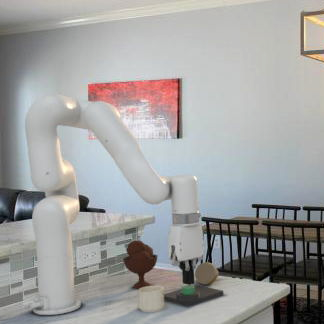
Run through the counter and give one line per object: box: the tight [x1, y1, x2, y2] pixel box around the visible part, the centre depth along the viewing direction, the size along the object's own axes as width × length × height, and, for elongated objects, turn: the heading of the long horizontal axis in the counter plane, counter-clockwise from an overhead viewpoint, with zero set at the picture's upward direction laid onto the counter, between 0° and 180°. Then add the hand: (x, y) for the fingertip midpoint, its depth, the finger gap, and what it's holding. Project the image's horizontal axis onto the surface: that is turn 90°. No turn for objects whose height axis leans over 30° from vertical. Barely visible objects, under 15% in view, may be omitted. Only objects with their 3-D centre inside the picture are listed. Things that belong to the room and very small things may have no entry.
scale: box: [164, 284, 224, 307], centre depth 159 cm, size 15×13×3 cm
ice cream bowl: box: [122, 240, 159, 290], centre depth 174 cm, size 11×11×15 cm
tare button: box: [181, 284, 195, 295], centre depth 153 cm, size 4×4×2 cm
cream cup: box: [137, 285, 165, 313], centre depth 149 cm, size 7×7×6 cm
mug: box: [194, 261, 219, 286], centre depth 176 cm, size 8×10×10 cm
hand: (188, 283), depth 153 cm, fingers closed
